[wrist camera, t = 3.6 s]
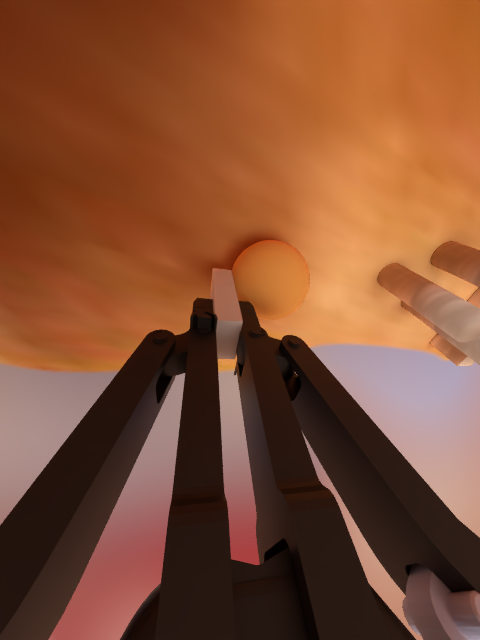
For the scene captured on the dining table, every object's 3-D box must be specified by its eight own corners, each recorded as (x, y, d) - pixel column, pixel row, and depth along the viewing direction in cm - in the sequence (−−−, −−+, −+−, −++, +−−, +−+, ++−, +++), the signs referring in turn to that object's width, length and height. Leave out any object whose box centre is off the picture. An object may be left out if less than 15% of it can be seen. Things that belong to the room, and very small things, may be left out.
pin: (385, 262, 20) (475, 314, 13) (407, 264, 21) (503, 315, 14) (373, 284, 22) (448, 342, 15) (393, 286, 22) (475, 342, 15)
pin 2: (409, 288, 22) (496, 344, 16) (428, 289, 23) (520, 344, 16) (396, 307, 24) (471, 365, 17) (414, 308, 24) (493, 365, 18)
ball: (219, 229, 15) (270, 265, 11) (283, 227, 18) (340, 256, 14) (214, 300, 19) (251, 345, 15) (268, 289, 22) (310, 324, 18)
